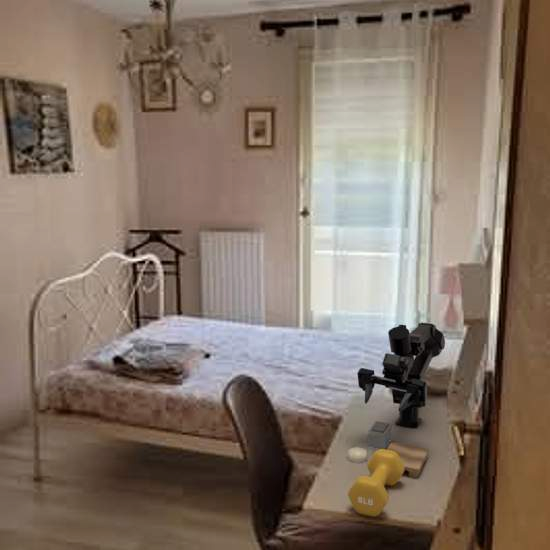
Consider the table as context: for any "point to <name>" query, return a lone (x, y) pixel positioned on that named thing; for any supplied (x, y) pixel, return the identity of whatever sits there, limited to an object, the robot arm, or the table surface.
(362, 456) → the cream rounded piece
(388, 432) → the housing
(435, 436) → the table surface
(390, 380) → the robot arm
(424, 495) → the table surface
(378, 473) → the dumbbell
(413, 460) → the tan flat board
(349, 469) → the table surface
